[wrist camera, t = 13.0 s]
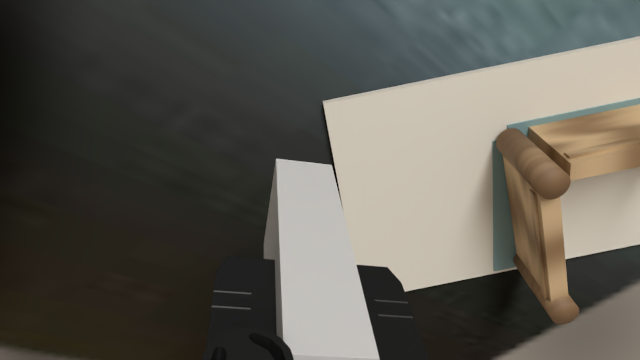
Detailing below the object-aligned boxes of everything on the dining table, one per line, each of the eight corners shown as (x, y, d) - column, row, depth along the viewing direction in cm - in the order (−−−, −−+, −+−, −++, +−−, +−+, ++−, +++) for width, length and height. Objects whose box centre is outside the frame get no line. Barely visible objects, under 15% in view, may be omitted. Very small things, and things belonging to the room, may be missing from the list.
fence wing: (494, 133, 40) (536, 176, 34) (521, 124, 40) (569, 166, 33) (514, 270, 47) (552, 327, 41) (537, 263, 47) (579, 319, 41)
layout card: (358, 296, 48) (360, 301, 48) (322, 101, 38) (323, 104, 38) (648, 237, 48) (653, 242, 47) (686, 26, 38) (693, 29, 38)
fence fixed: (528, 146, 41) (575, 191, 35) (528, 122, 40) (577, 163, 34) (673, 117, 41) (747, 156, 35) (678, 91, 40) (754, 127, 34)
